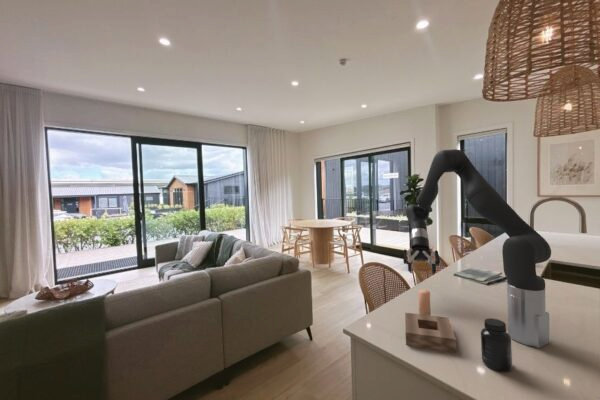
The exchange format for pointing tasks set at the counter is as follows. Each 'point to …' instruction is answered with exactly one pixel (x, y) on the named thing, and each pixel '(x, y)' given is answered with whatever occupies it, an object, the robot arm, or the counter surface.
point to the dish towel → (480, 275)
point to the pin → (424, 302)
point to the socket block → (429, 332)
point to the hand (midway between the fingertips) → (422, 272)
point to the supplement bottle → (496, 345)
